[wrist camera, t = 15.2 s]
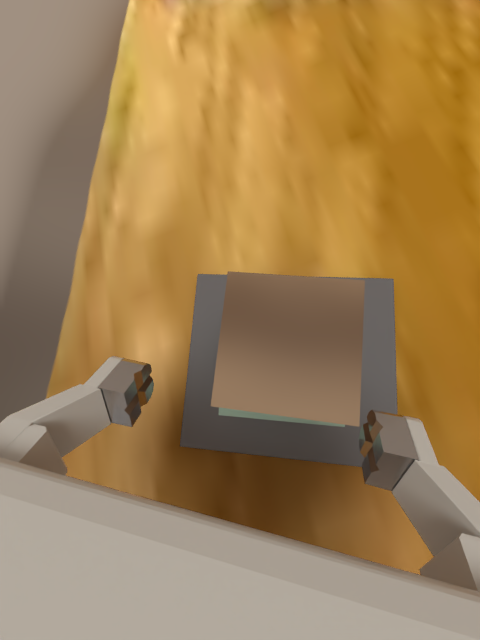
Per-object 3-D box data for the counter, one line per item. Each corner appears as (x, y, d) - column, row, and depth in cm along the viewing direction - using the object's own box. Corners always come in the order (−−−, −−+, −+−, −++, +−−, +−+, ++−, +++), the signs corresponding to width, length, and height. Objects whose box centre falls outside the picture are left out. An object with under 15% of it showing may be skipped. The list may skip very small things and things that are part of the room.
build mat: (395, 468, 22) (399, 471, 21) (182, 444, 24) (180, 446, 23) (390, 281, 24) (393, 278, 24) (199, 276, 27) (197, 274, 26)
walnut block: (319, 401, 18) (359, 426, 9) (241, 391, 19) (210, 406, 10) (324, 324, 19) (364, 280, 10) (250, 317, 20) (227, 271, 11)
